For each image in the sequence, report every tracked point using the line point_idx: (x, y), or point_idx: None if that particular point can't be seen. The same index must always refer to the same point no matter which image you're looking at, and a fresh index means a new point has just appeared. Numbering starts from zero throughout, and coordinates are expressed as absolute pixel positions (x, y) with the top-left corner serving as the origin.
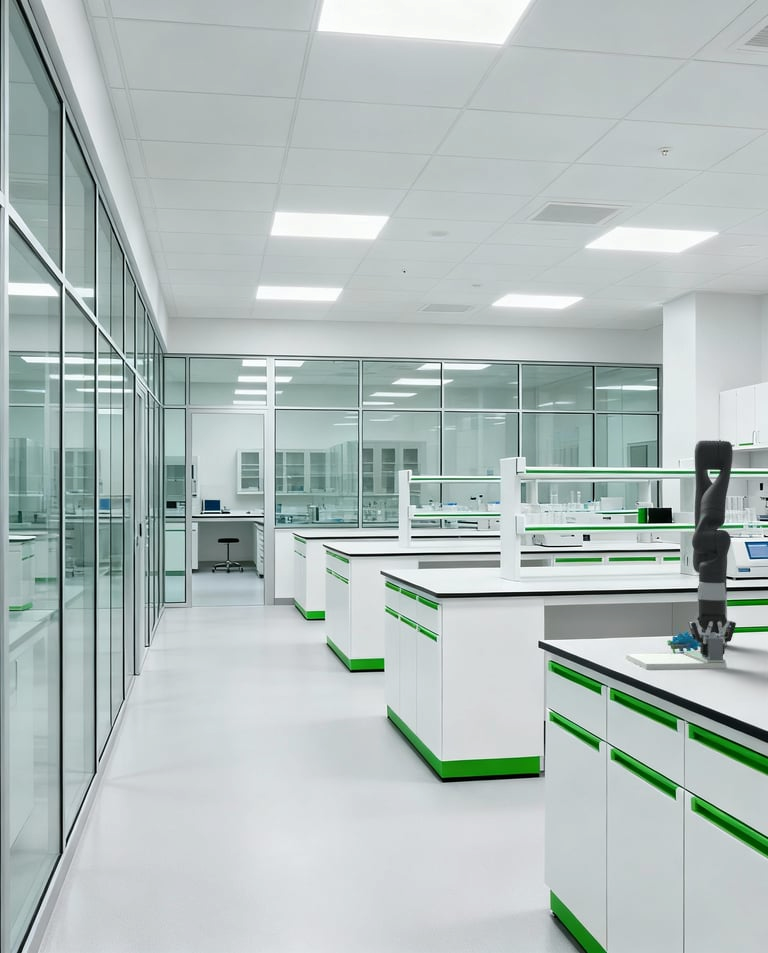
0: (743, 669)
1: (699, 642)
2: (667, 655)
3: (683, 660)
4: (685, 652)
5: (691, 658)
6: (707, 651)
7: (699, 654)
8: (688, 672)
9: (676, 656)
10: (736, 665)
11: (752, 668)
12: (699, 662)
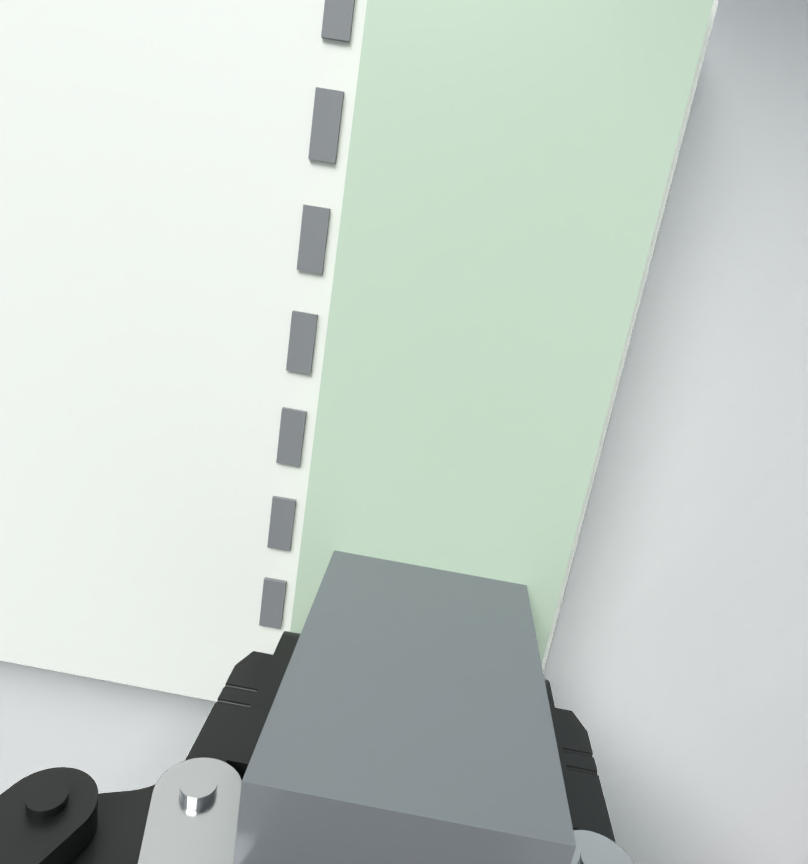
0: (650, 805)
1: (153, 788)
2: (18, 70)
3: (81, 500)
4: (367, 12)
5: (260, 400)
6: None
7: (438, 338)
8: (8, 773)
9: (121, 194)
10: (758, 616)
11: (792, 791)
12: (213, 659)
